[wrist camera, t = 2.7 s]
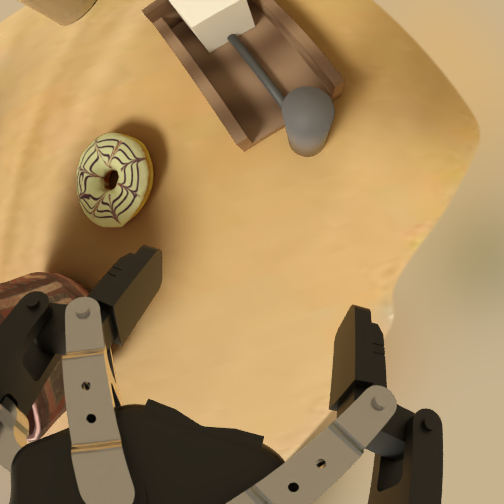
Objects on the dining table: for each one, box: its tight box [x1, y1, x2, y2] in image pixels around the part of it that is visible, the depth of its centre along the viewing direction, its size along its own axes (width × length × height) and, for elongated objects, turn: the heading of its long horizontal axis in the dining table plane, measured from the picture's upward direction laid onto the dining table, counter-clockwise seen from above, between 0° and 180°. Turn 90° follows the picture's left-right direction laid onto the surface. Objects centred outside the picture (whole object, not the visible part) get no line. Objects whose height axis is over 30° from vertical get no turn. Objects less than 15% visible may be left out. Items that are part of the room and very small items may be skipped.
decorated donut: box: [77, 133, 154, 227], centre depth 32 cm, size 10×11×4 cm
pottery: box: [0, 272, 111, 442], centre depth 29 cm, size 18×18×18 cm
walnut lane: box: [142, 0, 345, 152], centre depth 26 cm, size 20×12×6 cm, turn 32°
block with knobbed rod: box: [169, 0, 335, 157], centre depth 24 cm, size 22×6×10 cm, turn 32°
